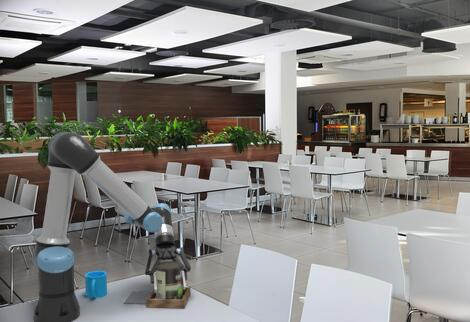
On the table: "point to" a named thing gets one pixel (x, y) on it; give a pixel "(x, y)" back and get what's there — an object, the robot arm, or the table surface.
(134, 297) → the mat
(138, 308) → the table surface
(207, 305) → the table surface
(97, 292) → the mug
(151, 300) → the crate
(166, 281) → the coffee can
